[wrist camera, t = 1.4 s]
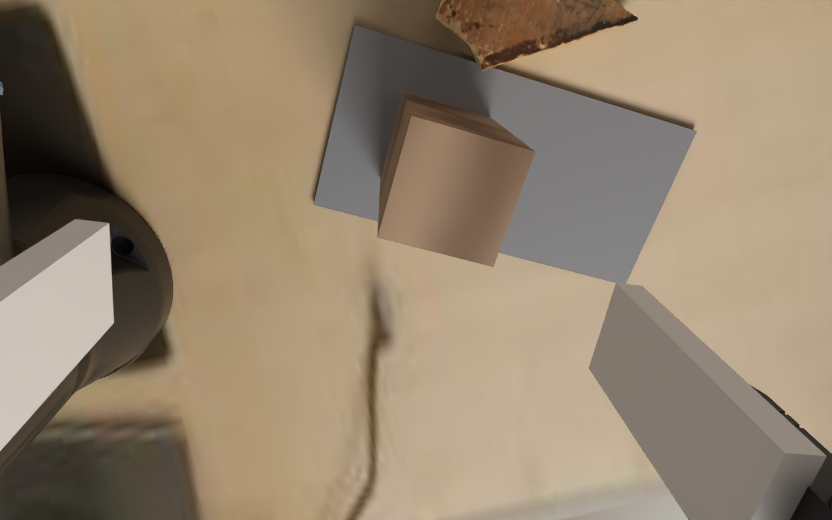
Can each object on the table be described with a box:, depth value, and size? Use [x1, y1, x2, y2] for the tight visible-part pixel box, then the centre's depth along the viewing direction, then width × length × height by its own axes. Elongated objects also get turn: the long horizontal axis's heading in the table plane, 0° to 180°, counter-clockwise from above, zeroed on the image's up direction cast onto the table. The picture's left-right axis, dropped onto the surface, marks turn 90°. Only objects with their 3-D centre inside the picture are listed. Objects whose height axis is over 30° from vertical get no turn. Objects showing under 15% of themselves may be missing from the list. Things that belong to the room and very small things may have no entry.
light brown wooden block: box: [377, 92, 535, 267], centre depth 32 cm, size 6×6×12 cm
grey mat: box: [314, 25, 697, 284], centre depth 38 cm, size 24×12×1 cm, turn 74°
